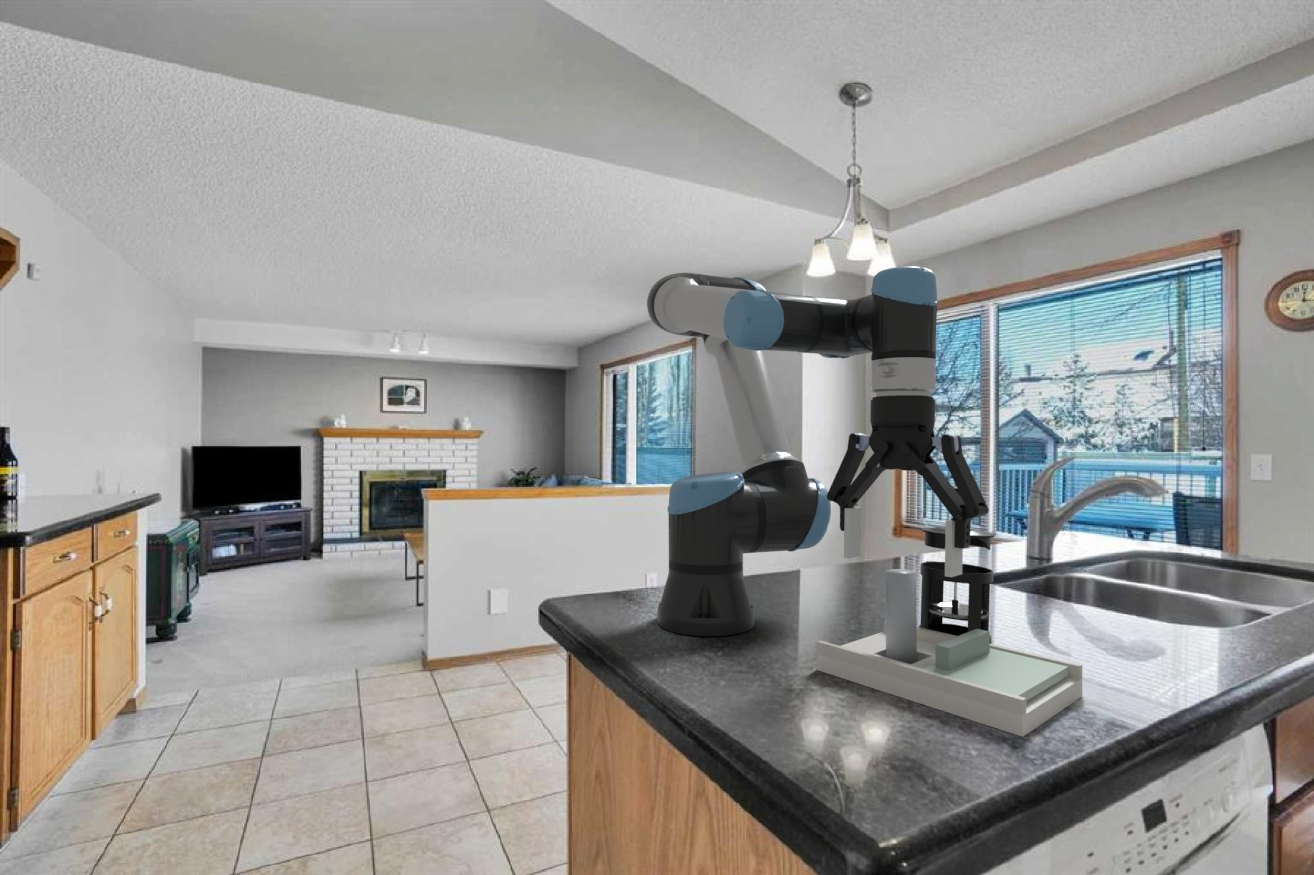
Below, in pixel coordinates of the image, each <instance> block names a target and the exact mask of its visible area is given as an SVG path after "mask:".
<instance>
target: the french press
mask: <svg viewBox="0 0 1314 875" xmlns="http://www.w3.org/2000/svg"><path fill="white" fill-rule="evenodd" d="M952 486H953V488H954V489H955V490H956V492H957V493H958V494H959V495H960V493H959V491H958V489H957V487H956V485H952ZM960 497H961V495H960ZM961 498H962V497H961ZM945 531H946V525H945V526H944V525H943V526H935V527H934V526H933V527H931V526H930V527H922V528H921V532H923V533H924V546H927V547H930V548H936V549H941V550H945ZM995 535H996V534H995V533H992V532H987V531H982V530H980V529H979V530H978V529H975V528H970V545H969V546H972V547H978V548H983V549H986V550H988V551H991V543H992V542H991V541H992V540H991V539H992V538H995ZM920 575H921V590H920V591H921V595H920V597H921V600H920V621H919V622H920V623H919V626H918V627H920V628H924V629H929V630H933V631H937V632H942V633H946V634H950V635H955V636H959V635H962V634H965V633H967V632H970V631H972V630H975V629H980V630H985V631H989V626H990V624H989V622H990V614H991V613H990V593H991V592H990V591H991V588H990V587H991V586H990V585H991V584H992V583H993V582H994V570H992V569H991V568H988V567H984V566H980V565H974V564H969V563H968V564H967V563H962V574H961V575H958V576H954V577H946V576H945V561H934V560H931V561H930V560H929V561H928V560H927V561H925V562H921V563H920ZM945 582H949V583H953V584H954V585H953V599H952V600H951V602H950V601H949V602H948V601H944V586H945V584H944V583H945ZM958 584H968V604H965V603H959V600H958ZM943 619H948V620H956V621H965V622H967V626H966V625H961V624H954V623H947V622H945V623H943ZM990 644H992V636H991V635H990Z"/></svg>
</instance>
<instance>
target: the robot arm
mask: <svg viewBox="0 0 1314 875" xmlns="http://www.w3.org/2000/svg"><path fill="white" fill-rule="evenodd" d="M937 290H938V288H937V278H936V275H935V273H934V272H933V271H932V270H931V269H928V268H926V267H921V266H899V267H898V266H897V267H890V268H887V269H882V270H879V271H878V272H877V273H876V274H875V275H874V276H873V279H872V285H871V289H870V291H871V294H868V295H866V296H862V297H859V298H854V299H842V298H832V297H831V298H830V297H821V296H810V295H800V294H792V293H784V292H772V291H768V290H766V289H765V287H764V285H762V284H761V283H759V282H757V281H754V280H752V279H746V278H744V277H740V276H737V277H728V276H727V277H725V276H719V275H718V276H716V275H709V274H708V275H707V274H701V273H699V274H698V273H693V272H677V273H676V272H675V273H672V274H668V275H666V276H664V277H662V278H660V279H659V280H658V281H656V282H655V283H654V284H653V285H652V287H651V289H650V291H649V293H648V296H647V298H646V299H647V300H646V306H647V312H648V316H649V318H650V319H651V321H652V323H654V325H656V327H657V328H658V329H660V330H663V331H665V332H667V333H670V334H672V335H676V336H677V335H678V336H687V337H695V338H702V340H703V344H704V348H705V351H706V352H707V353H708V354H709V355H710V356H712V357H714V358H715V359H716V363H717V367H718V368H717V369H718V371H719V372H718V373H719V375H720V381H721V384H722V387H723V392H724V395H725V401H726V405H727V408H728V413H729V416H730V421H731V424H732V425H731V426H732V429H733V434H734V438H735V441H736V445H737V449H738V454H739V457H740V461H741V465H742V469H741V471H740V472H739V471H721V472H709V473H700V474H695V475H689V476H685V477H681V478H679V479H677V480H675V481H674V482H673V483H671V486H670V488H669V497H668V506H667V512H668V574H667V578H666V581H665V584H664V588H663V591H662V597H661V600H660V603H658V606H657V611H656V613H657V616H656V617H657V618H656V620H657V625H658V626H660V627H661V628H662V629H663V630H666V631H669V632H672V633H677V634H681V635H686V636H687V635H689V636H696V637H697V636H698V637H699V636H701V637H719V636H720V637H722V636H730V635H731V636H732V635H736V634H741V633H745V632H748V631H750V630H752V629H753V628H754V626H755V608H754V606H753V604H752V603H751V599H750V595H749V590H748V587H747V584H746V580H745V577H744V554H754V553H769V552H772V553H773V552H786V551H787V552H795V551H798V550H805V549H810V548H813V547H815V546H816V545H818V544H819V543H820V542H821V541H822V540H823V538H824V536H825V535H826V533H827V532H828V526H829V524H830V521H831V516H832V514H831V513H832V505H831V502H833V503H834V504H837V505H838V507H839V528H840V531H842V532H844V534H843V536H844V537H843V538H844V540H843V542H844V543H843V559H844V558H845V559H853V558H859V557H862V555H861V554H862V507H859V503H858V502H859V501H860V500H861V498H862V497H863V496H864V495H865V494H866V492H867V491H868V490H869V489H870V487H872V486H873V484H874V483H875V481H876V480H877V479H878V478H879V477H880V475H881V474H882V473H883V472H885V471H886V470H889V471H891V470H892V471H893V470H901V471H910V472H911V471H915V472H916V473H917V474H919V475H920V476H921V477H922V478H923V480H924V481H925V483H926V484H928V486H929V488H930V489H931V490H932V491H933V493H934V494H935V496H936V497H937V498H938V500H939V501H940V502H941V504H942V505H943V506H944V508H945V509H946V510H947V512H948V513H949V514H950V516H951V517H952V518H950V519H946V520H945V527H946V531H945V549H944V553H945V554H944V562H945V576H946V577H954V576H958V575H961V574H962V564H963V549H966V548H969V547H970V546H971V545H970V529H971V525H972V524H971V523H972V520H973V519H974V518H978V517H982V516H986V515H988V514H989V509H990V508H989V507H988V505H987V503H986V500H985V499H984V497H983V494H982V492H981V490H980V488H979V485H978V484H977V482H976V479H975V477H974V475H973V472H972V471H971V469H970V466H969V465H968V462H967V460H966V458H965V456H964V454H963V448H962V446H963V445H962V439H961V438H962V437H961V436H960V435H959V434H953V433H952V434H951V433H950V434H943V435H942V436H936V435H935V432H934V427H935V423H936V399H934V396H931V393H934V392H935V391H936V390H937V389H936V385H937V384H936V383H937V381H936V378H937V377H936V376H937V375H936V374H937V373H936V372H937V371H936V365H937V364H936V362H937V361H936V358H937V353H936V350H937V348H936V347H937V346H936V344H937V316H938V315H937V314H938V306H939V301H938V293H937V292H938V291H937ZM763 351H774V352H777V351H778V352H793V353H795V352H798V353H802V354H817V355H820V356H822V357H823V358H826V359H827V358H828V359H837V358H838V359H847V358H850V357H854V356H859V355H865V354H870V353H871V354H870V355H871V356H870V360H871V364H870V365H871V368H870V369H871V374H870V376H871V378H870V380H871V381H870V391H871V392H873V393H874V394H875V396H873V397H872V398H871V399H870V412H869V413H870V420H869V421H870V425H871V428H872V429H871V432H870V435H868V434H866V433H863V432H862V433H861V432H853V433H850V434H849V435H848V442H847V449H846V451H845V454H844V456H843V459H842V461H841V463H840V466H839V467H838V469H837V472H836V474H835V477H834V479H832V480H833V481H832V483H831V486H830V487H829V489H827V487H826V486H825V484H824V483H822V481H820V480H818V479H816V478H814V477H813V478H812V477H811V478H810V477H809V476H808V473H807V470H806V466H805V464H804V463H805V462H803V461H802V460H801V459H798V458H797V457H795V456H793V454H792V451H791V448H790V444H789V441H788V437H787V434H786V430H785V426H784V422H783V420H782V415H781V413H780V412H781V411H780V408H779V405H778V402H777V398H776V395H775V390H774V387H773V384H772V380H771V376H770V373H769V370H768V365H767V363H766V359H765V356H764V353H763ZM869 448H870V449H871V451H872V452H873V453H872V455H871V456H869V458H868V460H867V461H866V463H864V465H865V466H864V467H863V468H862V470H861V471H860V473H859V474H858V475H857V476H856V474H857V472H858V470H859V467H860V465H861V463H862V461H863V459H864V457H865V455H866V454H865V453H866V451H867V450H868V449H869ZM936 448H937V450H938V452H939V453H940V454H942V458H943V460H944V463H945V465H946V468H947V469H948V472H949V474H950V475H951V478H952V480H953V482H954V484H955V486H956V487H957V489H958V491H959V493H960V495H961V497H962V498H961V497H960V495H959V494H958V493H957V492H956V490H955V489H954V488H953V486H954V485H952V483H950V481H949V479H947V477H946V475H944V474H943V472H942V470H941V469H940V466H939V464H938V462H936V460H935V459H934V457H932V455H931V454H932V453H933V452H934V450H935V449H936ZM855 476H856V478H855ZM854 478H855V479H854Z"/></svg>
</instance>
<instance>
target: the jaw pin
mask: <svg viewBox="0 0 1314 875" xmlns="http://www.w3.org/2000/svg"><path fill="white" fill-rule="evenodd" d="M884 573H885V574H884V575H885V576H884V580H885V581H884V584H885V591H884V592H885V593H884V594H885V595H884V597H885V598H884V599H885V604H884V606H885V620H886V657H887V658H890V659H894V660H898V661H901V662H905V663H908V664H913V663H916V662H917V627H918V626H917V624H918V623H917V622H918V621H917V615H918V614H917V612H918V611H917V572H916V571H914V570H911V569H903V568H900V569H899V568H895V569H894V568H890V569H889V568H888V569H886V570H885V571H884Z"/></svg>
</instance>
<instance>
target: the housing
mask: <svg viewBox="0 0 1314 875" xmlns="http://www.w3.org/2000/svg"><path fill="white" fill-rule="evenodd" d="M954 637H957V636H955V635H950V634H946V633H942V632H937V631H933V630H929V629H924V628H920V627H919V626H917V662H916V663H913V664H908V663H905V662H901V661H898V660H894V659H890V658H887V657H886V619H885V620H883V631H881V632H878V633H875V634H873V635H870V636H866V637H864V638H860V639H857V640H854V641H851V642H848V643H845V644H842V645H838V644H834V643H832V642H827V641H825V640H817V641H816V646H815V648H816V655H815V656H816V657H815V658H816V659H815V660H816V664H815V665H816V667H815V668H816V671H819V672H822V673H825V674H827V675H828V674H829V675H831V676H835V677H837V678H841V679H843V680H847V681H849V682H852V683H856V684H859V685H862V686H865V687H868V688H870V689H874V690H877V691H880V692H884V693H886V694H889V695H893V696H896V697H899V698H902V699H906V700H908V701H912V702H914V703H917V704H920V705H924V706H927V707H929V708H932V709H936V710H939V711H943V712H945V713H947V714H951V715H955V716H958V717H961V718H963V719H967V720H969V721H973V722H975V723H976V722H977V723H978V724H982V725H985V726H989V727H991V728H995V729H997V730H1001V731H1004V732H1007V733H1009V734H1012V735H1016V736H1019V737H1022V738H1024V737H1026V736H1027V735H1028V734H1030V733H1031V732H1032V731H1034V730H1035V729H1037V728H1039V727H1040V726H1042V724H1044V723H1045V722H1047V721H1049V720H1050V719H1051V718H1052V717H1054V716H1056V715H1057V714H1059V713H1061V711H1063V710H1065V709H1066V708H1068V707H1069V706H1070V705H1072V704H1073V703H1075V702H1076V701H1078V700H1079V699H1080V698H1082V697H1083V664H1080V663H1076V662H1071V661H1067V660H1063V659H1058V658H1056V657H1050V656H1045V655H1042V654H1036V653H1032V652H1029V651H1024V650H1020V649H1014V648H1011V647H1008V646H1007V647H1006V646H1002V645H997V644H993V643H991V644H990V648H992V649H996V650H1000V651H1004V652H1009V653H1013V654H1017V655H1021V656H1026V657H1030V658H1034V659H1038V660H1043V661H1047V662H1051V663H1055V664H1060V665H1064V666H1068V671H1069V676H1067V677H1065V678H1064V679H1062V680H1060V681H1059V682H1057V683H1055V684H1054V685H1052V686H1050V687H1049V688H1047V689H1045V690H1044V691H1042V692H1041V693H1039V694H1037V695H1036V696H1034V697H1032V698H1031V699H1029V700H1027V701H1026V698H1024V697H1020V696H1017V695H1013V694H1010V693H1006V692H1002V691H999V690H995V689H992V688H988V687H985V686H981V685H978V684H974V683H970V682H967V681H963V680H960V679H956V678H953V677H949V676H946V675H942V674H938V673H935V672H931V671H928V670H924V669H922V668H924V667H927V666H929V665H932V664H934V663H935V645H936V644H939V643H941V642H944V641H946V640H949V639H952V638H954Z"/></svg>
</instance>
